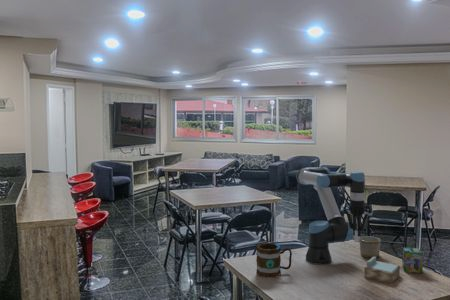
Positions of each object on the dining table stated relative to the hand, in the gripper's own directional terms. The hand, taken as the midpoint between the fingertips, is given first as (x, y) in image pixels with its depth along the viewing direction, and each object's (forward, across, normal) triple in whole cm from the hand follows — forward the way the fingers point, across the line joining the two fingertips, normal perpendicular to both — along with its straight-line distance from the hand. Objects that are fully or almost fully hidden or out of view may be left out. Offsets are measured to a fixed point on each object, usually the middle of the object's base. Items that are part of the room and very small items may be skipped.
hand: (356, 241), depth 216 cm
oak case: (+17, +14, 0) cm, 22 cm away
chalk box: (+17, +24, +20) cm, 35 cm away
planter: (+17, -3, +30) cm, 35 cm away
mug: (+17, -34, -32) cm, 50 cm away
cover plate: (+13, +14, 0) cm, 19 cm away
